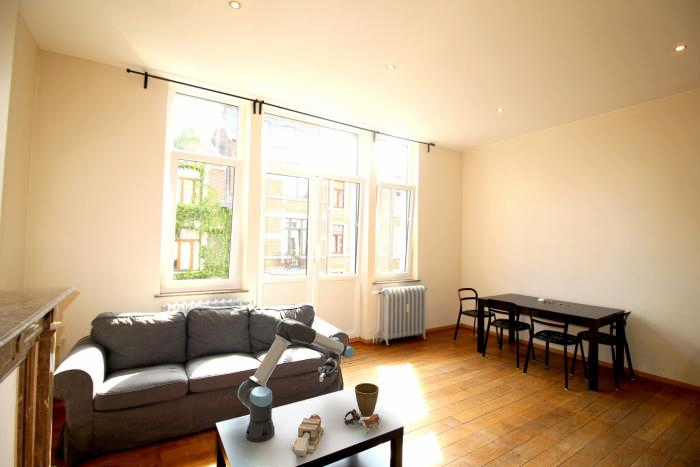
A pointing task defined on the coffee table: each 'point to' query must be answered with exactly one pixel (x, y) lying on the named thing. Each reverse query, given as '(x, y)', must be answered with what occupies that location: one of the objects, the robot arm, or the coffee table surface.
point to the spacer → (301, 446)
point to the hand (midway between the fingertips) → (320, 379)
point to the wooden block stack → (308, 433)
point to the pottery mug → (355, 417)
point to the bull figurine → (369, 421)
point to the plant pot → (366, 398)
